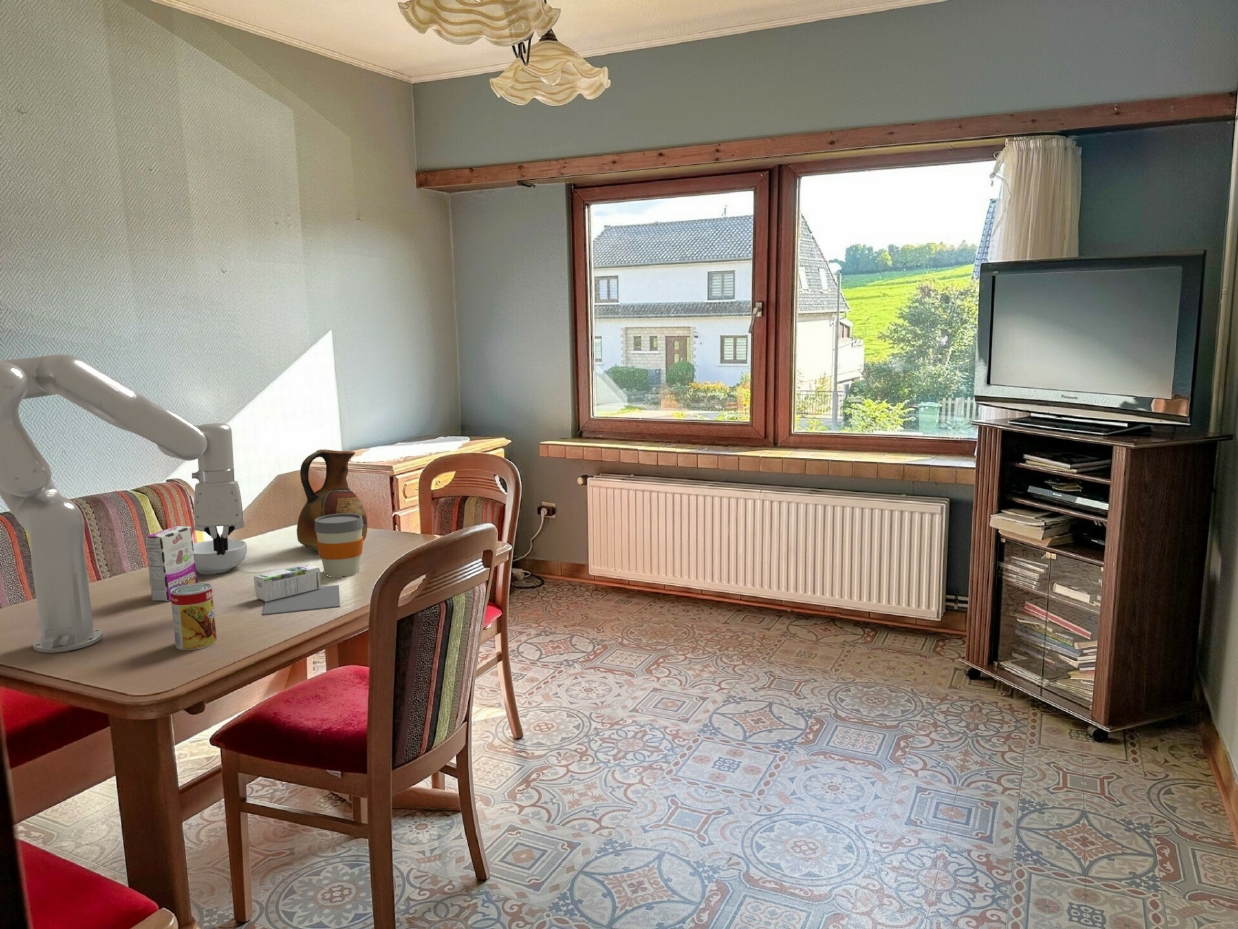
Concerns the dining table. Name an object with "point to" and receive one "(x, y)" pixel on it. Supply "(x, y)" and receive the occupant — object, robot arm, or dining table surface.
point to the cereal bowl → (218, 556)
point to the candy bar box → (170, 561)
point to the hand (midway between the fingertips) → (221, 553)
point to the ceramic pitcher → (327, 495)
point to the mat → (305, 601)
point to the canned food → (193, 616)
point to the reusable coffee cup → (340, 543)
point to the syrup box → (287, 582)
